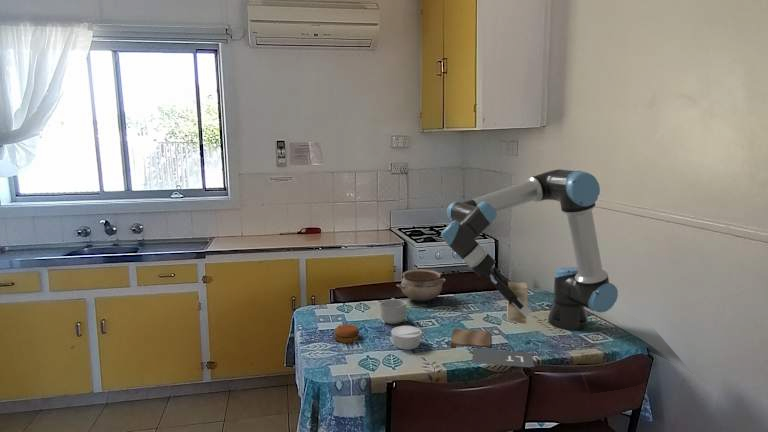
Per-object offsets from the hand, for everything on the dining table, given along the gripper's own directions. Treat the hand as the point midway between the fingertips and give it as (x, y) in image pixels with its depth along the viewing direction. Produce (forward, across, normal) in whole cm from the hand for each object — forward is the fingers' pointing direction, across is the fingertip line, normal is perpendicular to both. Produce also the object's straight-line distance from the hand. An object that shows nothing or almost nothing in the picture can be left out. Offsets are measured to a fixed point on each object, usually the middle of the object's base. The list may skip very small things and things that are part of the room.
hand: (527, 310), depth 172 cm
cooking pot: (-17, -59, -43) cm, 75 cm away
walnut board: (0, -15, -26) cm, 30 cm away
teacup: (-23, -31, -49) cm, 62 cm away
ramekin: (-17, -7, -42) cm, 46 cm away
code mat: (+7, 0, -18) cm, 20 cm away
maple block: (0, 0, -5) cm, 5 cm away
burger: (-33, -9, -59) cm, 68 cm away
